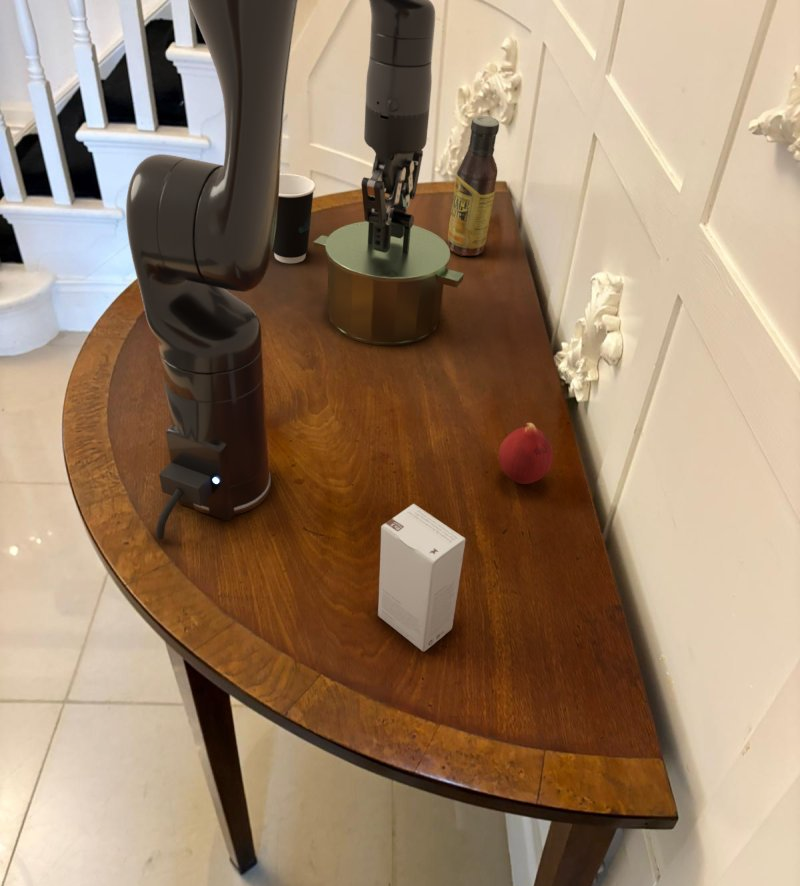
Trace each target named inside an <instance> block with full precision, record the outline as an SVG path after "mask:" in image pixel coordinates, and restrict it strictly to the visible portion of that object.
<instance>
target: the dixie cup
mask: <svg viewBox="0 0 800 886" xmlns="http://www.w3.org/2000/svg"><path fill="white" fill-rule="evenodd" d="M316 187H317V186H316V183H315V182H314V181H313V180H312V179H311V178H309V177H307V176H304V175H300V174H294V173H280V181H279V198H278V211H277V223H276V232H275V240H274V246H273V251H272V253H273V256H274V258H275V260H277V261H279V262H280V263H283V264H298V263H300V262H303V261H304V260H305V259H306V255H307V253H308V249H309V240H310V229H311V219H312V210H313V200H314V199H313V198H314V192H315V190H316Z"/></svg>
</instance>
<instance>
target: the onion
mask: <svg viewBox="0 0 800 886" xmlns="http://www.w3.org/2000/svg"><path fill="white" fill-rule="evenodd" d="M553 450H554V449H553V445H552V443H551V440H550V439H549V438H548V436H546V434H545V433H544V432H543V431H542V430H540V429H539V428H537V427H536V426H535V424H534V423H532V422H526V423H525V426H522V427H518V428H516V429H515V430H513V431H511V432H510V433H509V434H507V436H505V438H504V439H503V441H502V442H501V444H500V446H499V450H498V463H499V465H500V467H501V470H502V472H503V473H504V474H505V475H506V476H507V477H508V478H509V479H510V480H512V481H513V482H515V483H517V484H521V485H527V484H529V485H530V484H533V483H535V482H537V481H540V480H542V478H544V477H545V476H546V475H547V473H548V472H549V471H550V470H551V468H552V466H553V460H554V453H553V452H554V451H553Z"/></svg>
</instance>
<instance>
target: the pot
mask: <svg viewBox="0 0 800 886" xmlns="http://www.w3.org/2000/svg"><path fill="white" fill-rule="evenodd" d="M328 237H329V236H327V235H323V234H322V235H320V236H319V237H317V238H316V239H315V240H313V249H315V250H320V251H322V252H326V251H325V244H326V240H327V238H328ZM327 258H328V257H327ZM464 274H465V273H464V272H460V271H457V270H453V269H449V268H447V267H446V268H445V269H443V270H442V271H441V272H439V273H438V274H436V275H434V276H431V277H428V278H425V279H421V280H416V281H409V282H383V281H376V280H370V279H366V278H361V277H358V276H355V275H352V274H350V273H348V272H345V271H344V270H342V269H340V268H338V267H337V266H336V265H334V264H333V263H332V262H331V261H330V260H329V258H328V259H327V315H328V320H329V321H330V324H331V325H332V327H333V328H334V329H335V330H337V332H339V333H340V334H342V335H344V336H346V337H347V338H349V339H352V340H354V341H357V342H360V343H364V344H367V345H374V346H381V347H382V346H383V347H398V346H399V347H400V346H405V345H411V344H415V343H418V342H420V341H424V340H425V339H426V338H428V337H430V336H431V335H432V334H434V332H435V331H436V329H437V328H438V325H439V323H440V319H441V318H440V317H441V310H442V301H443V293H444V286H449V287H453V288H458V286H460V284H461V283H462V282H463V281H464Z"/></svg>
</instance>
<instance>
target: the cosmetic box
mask: <svg viewBox="0 0 800 886" xmlns="http://www.w3.org/2000/svg"><path fill="white" fill-rule="evenodd" d="M465 547H466V537H464V536H462V534H460V533H458V532H456V531H455V530H453V528H451V527H449V526H448V525H446V524H444V523H443V522H442V521H440V520H438V519H437V518H436V517H434V516H433V515H432V514H430V513H429V512H427V511H426V510H424V509H423V508H421V507H419V506H418V505H417V504H415V503H412V504H410V505H409V506H408V507H406V508H405V509H403V510H402V511H401V512H399V513H398V514H397V515H395V516H393V517H392V518H390V520H388V521H386V522H385V523H383V524H382V525H381V526H380V555H379V556H380V557H379V579H378V581H379V582H378V606H377V607H378V608H377V616H378V617H379V618H380V619H381V620H383V621H384V622H385V623H386V624H388V625H389V626H390V627H391V628H393V629H394V630H395V631H396V632H398V633H399V634H400V635H401V636H402V637H404V638H405V639H406V640H408V641H409V642H410V643H411V644H413V645H414V646H415V647H416V648H418V649H419V650H420V651H421V652H426V651H427V650H429V648H431V647H432V646H434V645H435V644H436V643H437V642H438V641H439V640H441V639H442V638H443V637H444V636H445V635H446V634H448V633H449V632H450V631H451V630H452V629H453V625H454V618H455V612H456V607H457V605H456V604H457V598H458V592H459V585H460V579H461V573H462V566H463V560H464V552H465Z"/></svg>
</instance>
